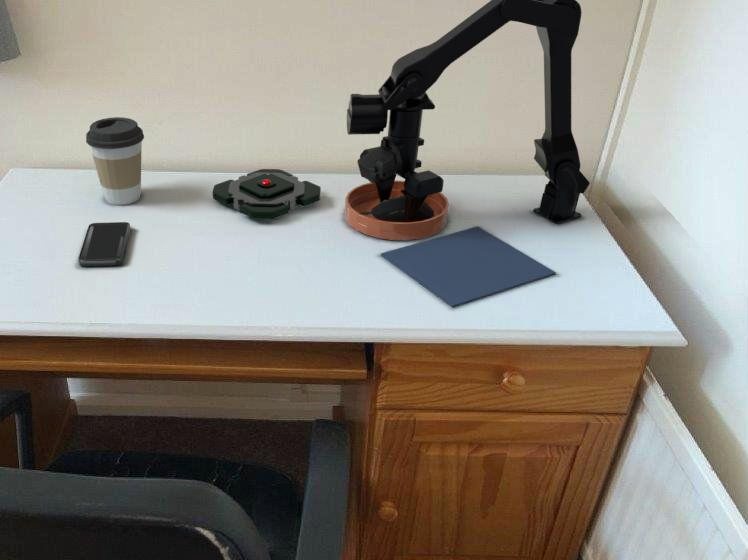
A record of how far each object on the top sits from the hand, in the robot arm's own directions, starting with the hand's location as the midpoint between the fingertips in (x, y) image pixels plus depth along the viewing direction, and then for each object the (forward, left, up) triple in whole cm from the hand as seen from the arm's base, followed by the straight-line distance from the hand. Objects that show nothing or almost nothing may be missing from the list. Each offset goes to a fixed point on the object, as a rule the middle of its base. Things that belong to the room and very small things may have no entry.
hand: (395, 213), depth 148 cm
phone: (+53, -16, -1) cm, 55 cm away
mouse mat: (0, +21, -1) cm, 21 cm away
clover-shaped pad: (+18, -19, -1) cm, 26 cm away
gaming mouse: (0, 0, -1) cm, 1 cm away
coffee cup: (+43, -35, -1) cm, 55 cm away
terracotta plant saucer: (0, 0, -1) cm, 1 cm away
